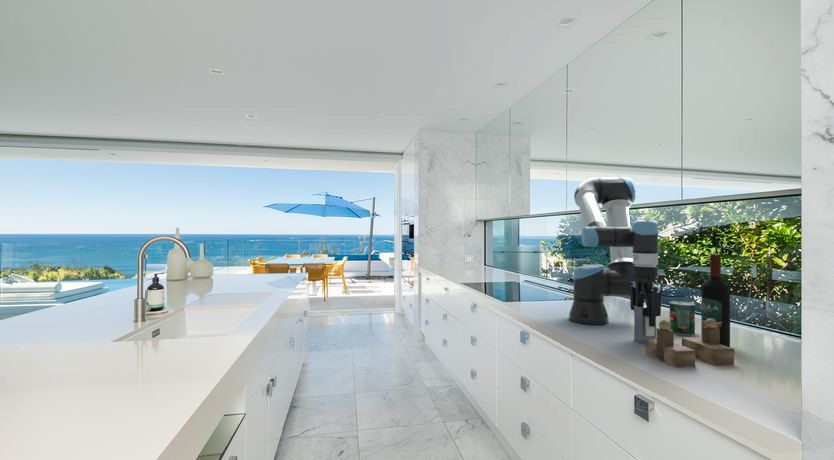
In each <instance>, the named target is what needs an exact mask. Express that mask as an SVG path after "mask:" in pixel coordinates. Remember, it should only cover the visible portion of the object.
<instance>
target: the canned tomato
mask: <svg viewBox="0 0 834 460" xmlns="http://www.w3.org/2000/svg"><path fill="white" fill-rule="evenodd" d="M669 322H670V324H671V328H670V330H673V331H674V335H675V334H676V335H679V336H695V335H696V303H693V302H689V301H680V300H671V301H669Z"/></svg>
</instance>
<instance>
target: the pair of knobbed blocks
mask: <svg viewBox="0 0 834 460" xmlns="http://www.w3.org/2000/svg"><path fill="white" fill-rule="evenodd" d="M658 326H659V327H658V328H657V327H656V339H646V343H645V355H647V354H648V356H650V357H652V358H654V357H655V359H656V358H657V359H656V360H659V361H661V362H663V363H666V364H667V365H670V366H672V367H674V366H675V367H674V368H676V367H677V368H687V367H686V366H695V367H696V359H698V360H700V361H703V362H706V363H708V364H711V365H713V366H731V365H732V366H734V365H735V348H733V347H731V346H730V347H727V346H724V345H721V344H720V329H719V328H716V327H717V322H716V321H715V320H714V319H707V320H705V326H706V327H702V338H701V337H699V336H694V337H693V336H691V337H689V336H688V337H681V344H678V343H677V342H674V337H675V336H674V335H675V333H674V331H673V330H670V328H671V324H670V321H669V320H667V319H663V320H660V321H659V323H658Z"/></svg>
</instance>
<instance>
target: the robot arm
mask: <svg viewBox="0 0 834 460" xmlns="http://www.w3.org/2000/svg"><path fill="white" fill-rule="evenodd" d="M575 189H576V190H575V191H574V194H573V195H574V196H573V197H574V202H575V204H576V205H577V207H579V211H580V214H581V218H582V222H583V226H584V227H582V229H581V242H582V245H583V246H584V247H590V248H591V247H593V248H596V247H599V248H601V247H602V248H605V247H606V248H607V247H608V248H609V254H610V262H608V264H607V268H606V267H605V266H604V265H603V264H586V265H580V266H577V267H575V268H574V269H573V277H572V279H573V302H572V305H571V308H570V311H569V313H568V314H569V315H568V318H569V320H570V321H572V322H575V323H579V324H584V325H606V324H609V315H608V312H607V308H606V306H605V300H604V299H605V297H612V298H613V297H618V298H629V300H630V304H629V305H630V310H631V311H634V306H638V305H646V309H647V315H645V316H646V336H655V335H654V327H655V317H656V318H657V317H661V312H662V293H663V286H659V285H657V282H656V278H658V277H659V272H658V271H659V269H658V268H659V267H658V265H659V254H658V253H659V244H658V243H659V242H658V241H659V228H658V225H659V224H658V222H657V221H656V220H635V221H633V222H632V225H631V223H630V222H631V221H630V214H629V213H630V212H629V209H630V208H631V206H632V203H634V202H635V200H636V188H635V183H634V181H633V180H632V179H631V178H629V177H627V176H625V177H624V176H623V177H622V176H618V177H616V176H615V177H592V178H588V179H586V180H585V181H583V182H582V183H580V184H579V185H578V187H577V188H575ZM600 204H601V206H602V209H603V210H604V211H606V218H607V223H606V221H605V219H604V215H603V212H602V210H601V207H600Z"/></svg>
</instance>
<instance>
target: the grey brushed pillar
mask: <svg viewBox="0 0 834 460" xmlns="http://www.w3.org/2000/svg"><path fill="white" fill-rule="evenodd" d="M633 315H634V317H633V318H634V319H633V326H634V328H633V330H634V331H633V338H634V341H636V342H637V341H638V343H640V344H642V343H644V344H646V339H657V316H656V317H655V327H654V335H655V336H646V316H645V315H647V309H646V304H644V305H638V306H634V310H633Z"/></svg>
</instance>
